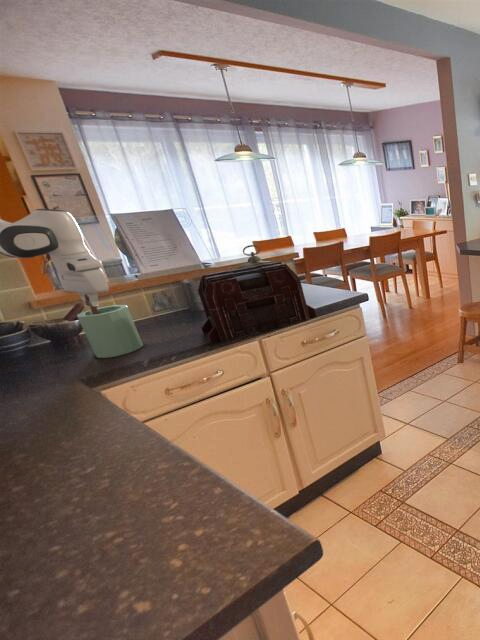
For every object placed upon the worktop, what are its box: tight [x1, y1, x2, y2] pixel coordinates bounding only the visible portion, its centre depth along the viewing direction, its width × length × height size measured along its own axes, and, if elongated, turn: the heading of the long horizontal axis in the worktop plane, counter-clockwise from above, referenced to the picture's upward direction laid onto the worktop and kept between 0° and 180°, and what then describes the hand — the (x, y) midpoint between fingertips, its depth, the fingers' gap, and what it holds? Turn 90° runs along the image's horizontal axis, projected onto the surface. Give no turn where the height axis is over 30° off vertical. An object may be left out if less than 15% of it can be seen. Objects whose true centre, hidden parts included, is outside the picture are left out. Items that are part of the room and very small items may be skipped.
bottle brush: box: [84, 294, 101, 315], centre depth 141 cm, size 4×4×18 cm
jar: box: [76, 304, 144, 359], centre depth 142 cm, size 12×12×14 cm
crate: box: [197, 261, 317, 344], centre depth 157 cm, size 35×19×21 cm, turn 133°
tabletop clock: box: [236, 244, 274, 270], centre depth 185 cm, size 14×9×25 cm, turn 147°
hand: (92, 305), depth 139 cm, fingers closed on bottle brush, 2 cm apart
